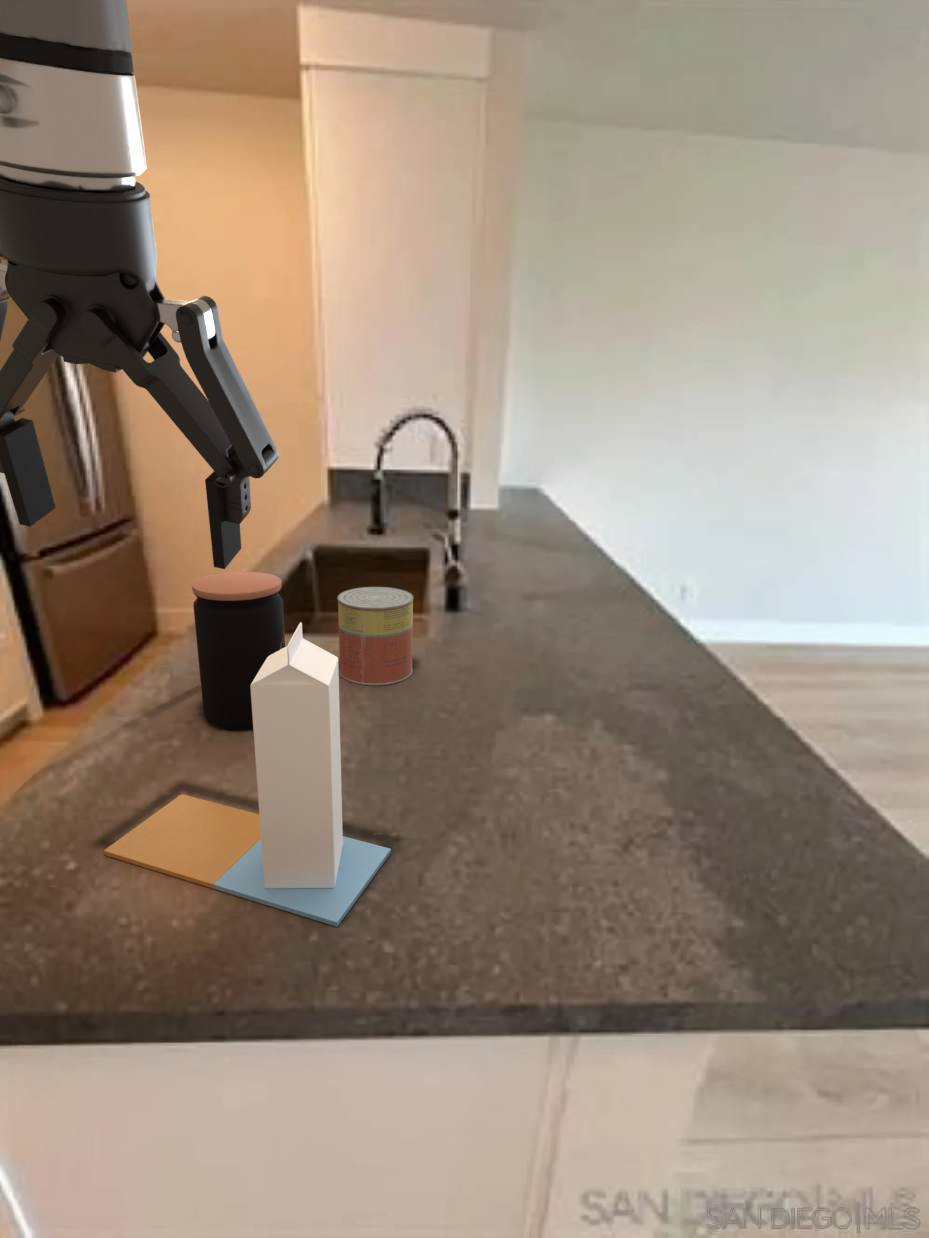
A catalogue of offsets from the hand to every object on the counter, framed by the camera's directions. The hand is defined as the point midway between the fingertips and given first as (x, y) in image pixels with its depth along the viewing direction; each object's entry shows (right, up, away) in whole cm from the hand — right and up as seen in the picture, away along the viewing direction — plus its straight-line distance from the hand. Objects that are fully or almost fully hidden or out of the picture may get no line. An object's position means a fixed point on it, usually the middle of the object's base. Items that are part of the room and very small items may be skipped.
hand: (132, 537), depth 46 cm
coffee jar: (-6, -18, +43) cm, 47 cm away
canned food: (+9, -14, +58) cm, 60 cm away
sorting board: (+3, -27, +16) cm, 32 cm away
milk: (+9, -28, +14) cm, 32 cm away
